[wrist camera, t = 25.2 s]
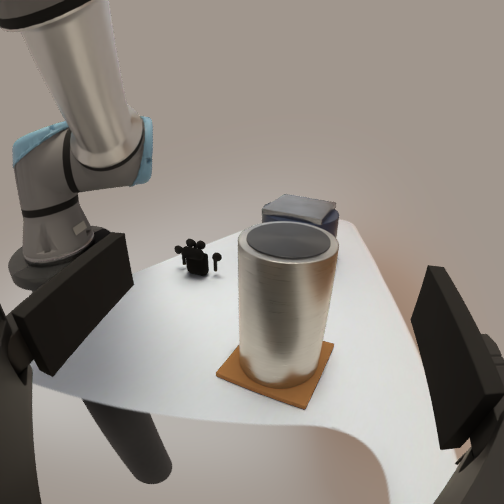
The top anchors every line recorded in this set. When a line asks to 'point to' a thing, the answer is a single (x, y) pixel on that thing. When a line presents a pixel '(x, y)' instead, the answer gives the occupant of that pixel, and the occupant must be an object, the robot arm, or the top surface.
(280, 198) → the navy cylinder with lid
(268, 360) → the cup
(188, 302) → the top surface
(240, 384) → the mat
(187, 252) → the wireless earbuds
